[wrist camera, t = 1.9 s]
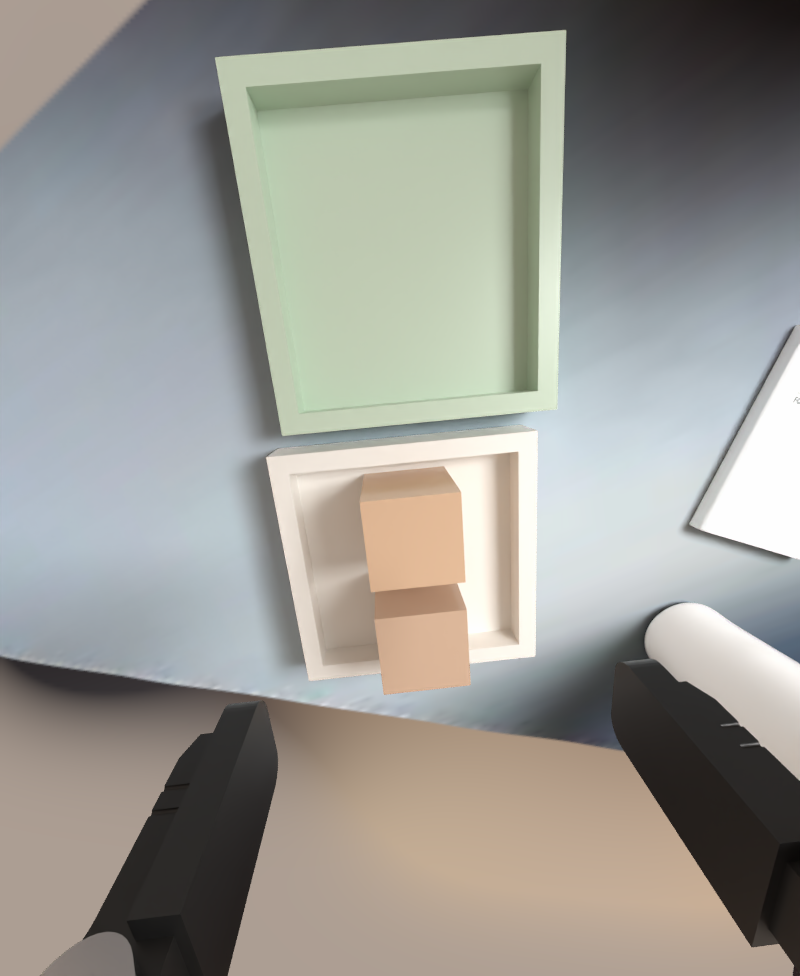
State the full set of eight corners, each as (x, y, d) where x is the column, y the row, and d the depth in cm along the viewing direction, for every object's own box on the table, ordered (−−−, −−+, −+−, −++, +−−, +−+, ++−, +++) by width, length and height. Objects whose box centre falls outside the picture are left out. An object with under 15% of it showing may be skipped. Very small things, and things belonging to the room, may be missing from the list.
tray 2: (520, 424, 23) (537, 430, 20) (521, 630, 27) (535, 656, 24) (278, 448, 22) (265, 457, 20) (315, 653, 26) (308, 681, 24)
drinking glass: (624, 675, 28) (880, 993, 14) (636, 592, 26) (948, 859, 12) (715, 668, 28) (1062, 974, 14) (734, 585, 26) (1158, 840, 12)
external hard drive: (681, 521, 26) (785, 325, 22) (785, 552, 27) (899, 369, 23) (700, 530, 24) (816, 321, 21) (810, 563, 25) (936, 369, 22)
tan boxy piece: (443, 465, 22) (461, 492, 17) (448, 539, 23) (465, 582, 19) (364, 473, 22) (359, 502, 17) (372, 547, 23) (370, 592, 18)
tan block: (449, 561, 24) (466, 610, 19) (453, 625, 25) (470, 685, 20) (375, 569, 24) (374, 619, 19) (383, 632, 25) (383, 694, 20)
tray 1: (541, 75, 18) (566, 29, 16) (538, 405, 22) (557, 409, 20) (237, 99, 18) (214, 57, 15) (292, 429, 22) (282, 436, 20)
